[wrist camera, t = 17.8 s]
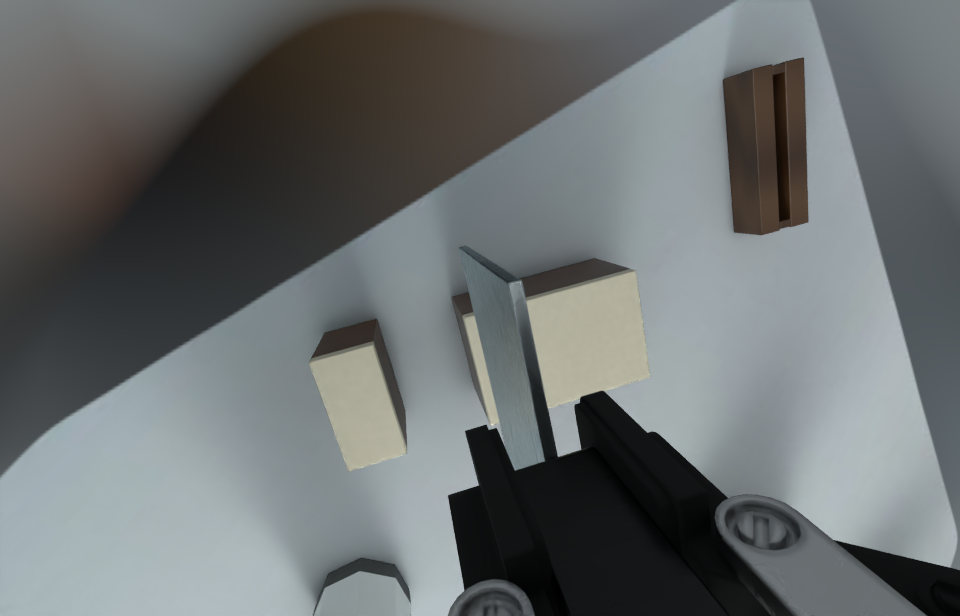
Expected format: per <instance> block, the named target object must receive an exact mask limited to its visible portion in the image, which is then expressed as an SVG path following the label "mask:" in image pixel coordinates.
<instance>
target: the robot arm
mask: <svg viewBox="0 0 960 616" xmlns="http://www.w3.org/2000/svg"><path fill="white" fill-rule="evenodd" d="M574 408H575V415H576V421H577V426H578V432H579V438H580V443H581V449H585V448H589V447H595V448H596V449H597V451H598V452H599V453H600V454H601V456H602V457H603V458H604V459H605V461H606V462H607V463H608V464H609V466H610V467H611V468H612V469H613V471H614V472H615V473H616V474H617V476H618V477H619V478H620V479H621V481H622V482H623V483H624V484H625V485H626V487H627V488H628V489H629V490H630V492H631V493H632V494H633V495H634V497H635V498H636V499H637V500H638V502H639V503H640V504H641V505H642V507H643V508H644V509H645V510H646V512H647V513H648V514H649V515H650V517H651V518H652V519H653V520H654V521H655V523H656V524H657V525H658V526H659V528H660V529H661V530H662V531H663V533H664V534H665V535H666V536H667V538H668V539H669V540H670V541H671V543H672V544H673V545H674V546H675V548H676V549H677V550H678V551H679V553H680V554H681V555H682V556H683V557H684V559H685V560H686V561H687V562H688V564H689V565H690V566H691V567H692V569H693V570H694V571H695V572H696V574H697V575H698V576H699V577H700V579H701V580H702V581H703V582H704V584H705V585H706V586H707V587H708V588H709V590H710V591H711V592H712V593H713V595H714V596H715V597H716V598H717V600H718V601H719V602H720V603H721V605H722V606H723V607H724V608H725V610H726V611H727V612H728V613H729V615H730V616H960V570H957V569H953V568H949V567H944V566H940V565H936V564H932V563H928V562H923V561H919V560H915V559H911V558H907V557H902V556H898V555H894V554H890V553H885V552H881V551H877V550H873V549H869V548H864V547H860V546H856V545H852V544H848V543H843V542H839V541H835V540H833V539H831V538H830V537H829V536H828V535H826V534H825V533H824V532H823V531H821V530H820V529H819V528H818V527H817V526H815V525H814V524H813V523H812V522H810V521H809V520H808V519H807V518H805V517H804V516H803V515H802V514H800V513H799V512H798V511H797V510H795V509H793V508H792V507H790V506H789V505H787V504H786V503H783V502H781V501H778V500H776V499H773V498H770V497H766V496H761V495H747V494H743V495H738V496H733V497H730V498H727V497H726V496H725V495H724V494H723V493H722V492H721V491H720V490H719V489H718V488H716V487H715V486H714V485H713V484H712V483H711V482H710V481H709V480H708V479H707V478H706V477H705V476H704V475H702V474H701V473H700V472H699V471H698V470H697V469H696V468H695V467H694V466H693V465H692V464H691V463H689V462H688V461H687V460H686V459H685V458H684V457H683V456H682V455H681V454H680V453H679V452H678V451H677V450H675V449H674V448H673V447H672V446H671V445H670V444H669V443H668V442H667V441H666V440H665V439H664V438H662V437H661V436H660V435H659V434H657V433H656V432H649V433H647V432H646V431H645V430H644V429H643V428H642V427H641V426H640V425H639V424H637V423H636V422H635V421H634V420H633V419H632V418H631V417H630V416H629V415H628V414H627V413H626V412H625V411H624V410H623V409H622V408H621V407H620V406H619V405H618V404H617V403H616V402H615V401H614V400H613V399H612V398H610V397H609V396H608V395H607V394H606V393H605V392H604V391H598V392H595V393H591V394H588V395H585V396H581V398H580V403H578V404H575V407H574ZM465 433H466V437H467V441H468V445H469V448H470V452H471V456H472V460H473V464H474V468H475V472H476V475H477V479H478V483H479V486H476V487H473V488H470V489H467V490H463V491H460V492H457V493H454V494H451V495H448V498H449V504H450V510H451V516H452V521H453V527H454V533H455V538H456V544H457V550H458V555H459V561H460V567H461V572H462V578H463V584H464V589H465V591H464V592H463V593H462V594H461V595H459V596H458V598H457V599H456V601H455V602H454V603H453V605H452V606H451V608H450V611H449V614H448V616H559V614H558V609H557V605H556V600H555V595H554V591H553V586H552V582H551V575H552V574H553V571H552V566H551V561H550V557H549V553H548V550H547V547H546V544H545V541H544V538H543V535H542V532H541V530H540V528H539V525H538V523H537V521H536V518H535V516H534V514H533V511H532V509H531V507H530V504H529V502H528V500H527V498H526V495H525V493H524V491H523V488H522V486H521V484H520V481H519V479H518V477H517V474H516V472H515V470H514V467H513V465H512V463H511V460H510V458H509V456H508V453H507V451H506V449H505V446H504V444H503V442H502V439H501V437H500V435H499V432H498V430H497V428H495V429H491V430H488V427H487V425H484V426H480V427H477V428H473V429H470V430H467V431H465Z"/></svg>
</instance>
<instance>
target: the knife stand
mask: <svg viewBox="0 0 960 616" xmlns="http://www.w3.org/2000/svg"><path fill="white" fill-rule="evenodd" d="M723 83H724V97H725V111H726V125H727V138H728V152H729V166H730V180H731V193H732V207H733V221H734V232H735V233H745V234H755V235H764V234H768V233H772V232H775V231H779V230H780V229H781V228H785V227H793V226H797V225H800V224H804V223H807V222H808V189H807V152H806V116H805V79H804V58H798V59H794V60H790V61H785V62H782V63H779V64H776V65H774V66H772V65H767V66H763V67H759V68H754V69H751V70H748V71H745V72H743V73H740V74H737V75H734V76H731V77H729V78H726V79H724V80H723Z"/></svg>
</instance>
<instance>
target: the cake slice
mask: <svg viewBox="0 0 960 616" xmlns="http://www.w3.org/2000/svg"><path fill="white" fill-rule="evenodd" d="M309 365H310V367H311V370H312V373H313V376H314V378H315V381H316V384H317V387H318V389H319V392H320V395H321V398H322V400H323V403H324V406H325V409H326V411H327V414H328V417H329V420H330V422H331V425H332V428H333V431H334V433H335V436H336V439H337V442H338V444H339V447H340V450H341V453H342V455H343V458H344V461H345V464H346V466H347V469H348V471H352V470H355V469H359V468H362V467H365V466H368V465H372V464H375V463H378V462H381V461H385V460H388V459H391V458H394V457H397V456H401V455H404V454H407V437H406V415H405V408H404V405H403V402H402V398H401V395H400V392H399V389H398V385H397V382H396V379H395V376H394V372H393V369H392V366H391V363H390V360H389V356H388V353H387V350H386V347H385V343H384V340H383V337H382V334H381V330H380V327H379V324H378V321H377V319H374V320H370V321H366V322H363V323H359V324H355V325H352V326H348V327H344V328H341V329H337V330H333V331H330V332H326V333H324V335H323V337H322V339H321V341H320V342H319V344H318V346H317V348H316V350H315V352H314V354H313V356H312V358H311V360H310V362H309Z"/></svg>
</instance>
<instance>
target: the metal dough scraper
mask: <svg viewBox="0 0 960 616" xmlns="http://www.w3.org/2000/svg"><path fill="white" fill-rule="evenodd" d="M459 252H460V257H461V261H462V265H463V269H464V274H465V278H466V282H467V286H468V291H469V295H470V299H471V303H472V308H473V312H474V316H475V320H476V324H477V329H478V333H479V337H480V341H481V346H482V350H483V354H484V358H485V363H486V367H487V371H488V375H489V380H490V384H491V388H492V392H493V397H494V401H495V405H496V409H497V414H498V418H499V422H500V426H501V431H502V435H503V439H504V443H505V448H506V451H507V453H508V456H509V458H510V460H511V463H512V465H513V467H514V470H515V472H516V474H517V477H518V479H519V481H520V484H521V486H522V488H523V491H524V493H525V495H526V498H527V500H528V502H529V504H530V507H531V509H532V511H533V514H534V516H535V518H536V521H537V523H538V525H539V528H540V530H541V532H542V535H543V538H544V541H545V544H546V547H547V550H548V553H549V557H550V561H551V566H552V571H553V574H552V575H551V582H552V586H553V591H554V595H555V600H556V605H557V609H558V614H559V616H730V615H729V613H728V612H727V611H726V610H725V608H724V607H723V606H722V605H721V603H720V602H719V601H718V600H717V598H716V597H715V596H714V595H713V593H712V592H711V591H710V590H709V588H708V587H707V586H706V585H705V584H704V582H703V581H702V580H701V579H700V577H699V576H698V575H697V574H696V572H695V571H694V570H693V569H692V567H691V566H690V565H689V564H688V562H687V561H686V560H685V559H684V557H683V556H682V555H681V554H680V553H679V551H678V550H677V549H676V548H675V546H674V545H673V544H672V543H671V541H670V540H669V539H668V538H667V536H666V535H665V534H664V533H663V531H662V530H661V529H660V528H659V526H658V525H657V524H656V523H655V521H654V520H653V519H652V518H651V517H650V515H649V514H648V513H647V512H646V510H645V509H644V508H643V507H642V505H641V504H640V503H639V502H638V500H637V499H636V498H635V497H634V495H633V494H632V493H631V492H630V490H629V489H628V488H627V487H626V485H625V484H624V483H623V482H622V481H621V479H620V478H619V477H618V476H617V474H616V473H615V472H614V471H613V469H612V468H611V467H610V466H609V464H608V463H607V462H606V461H605V459H604V458H603V457H602V456H601V454H600V453H599V452H598V451H597V449H596V448H595V447H589V448H585V449H582V450H579V451H576V452H572V453H569V454H566V455H563V456H560V457H558V456H557V451H556V446H555V441H554V436H553V431H552V426H551V421H550V416H549V411H548V406H547V401H546V396H545V391H544V386H543V381H542V377H541V372H540V367H539V362H538V357H537V352H536V347H535V342H534V337H533V332H532V327H531V322H530V317H529V312H528V307H527V302H526V297H525V292H524V287H523V282H522V280H521V279H519V278H517V277H516V276H514V275H513V274H511V273H509V272H508V271H506V270H505V269H503V268H501V267H500V266H498V265H497V264H495V263H493V262H492V261H490V260H489V259H487V258H485V257H484V256H482V255H481V254H479V253H477V252H476V251H474V250H473V249H471V248H469V247H468V246H466V245H465V246H461V247H459Z"/></svg>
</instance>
